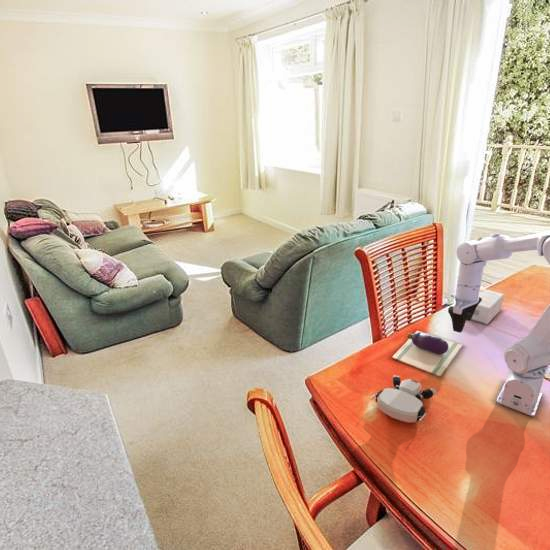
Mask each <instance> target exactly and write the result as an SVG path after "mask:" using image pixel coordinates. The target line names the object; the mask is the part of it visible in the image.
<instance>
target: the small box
mask: <svg viewBox="0 0 550 550" xmlns="http://www.w3.org/2000/svg"><path fill="white" fill-rule="evenodd" d="M479 297H480V298H482V301H481V302H480V303H479V304H478V306H477V307H476V309H475V311H474V314H473V316H472V318H471V320H472V321H476V322H479V323H481V324H484V325H488V324H489V323H490V322H491V321H492V320H493V319H494V318H495V317H496V316H497V315H498V314H499V313H500V311H501V310H502V305H503V301H504V297H505V294H504V293H500V292H497V291H494V290H489V289H485V288H481V287H480V291H479Z"/></svg>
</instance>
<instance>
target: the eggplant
mask: <svg viewBox="0 0 550 550" xmlns="http://www.w3.org/2000/svg"><path fill="white" fill-rule="evenodd" d="M415 332H416V331H415ZM415 332H414V333H415ZM423 332H424V331H421V332H416V333H415V334H414V333H410V332H408V334H407V339H408V340H409V339H412V342H413V344H414V345H415V346H417V347H420V348H423V349H426V350H428V351H431V352H434V353H437V354H444V353H446V352H447V351H448V343H447V342H446V341H445V340H446V339H445V338H442V337H439V336H436V335H433V336H432V334H430V333H427V332H424V333H423ZM426 333H427V334H426ZM413 334H414V335H413ZM429 334H430V335H429ZM435 336H436V337H435ZM438 337H439V338H438ZM441 338H442V339H441ZM444 339H445V340H444Z"/></svg>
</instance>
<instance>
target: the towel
mask: <svg viewBox="0 0 550 550" xmlns="http://www.w3.org/2000/svg"><path fill="white" fill-rule="evenodd" d="M416 332H423V333H426V334H429V335H432V334H430V333H427V332H424V331H421V330H416V331H415V332H414V333H412V334H413V335H414V334H415V333H416ZM432 336H435V337H438V338H441V339H444V340H445V341H446V342H447V343H448V351H447V352H446V353H444V354H437V353H434V352H431V351H428V350H426V349H423V348H420V347H417V346H415V345H414V344H413V342H412V339H409V338H408V339H407V340H406V342H405V343H404V344H402V346H401V347H400V348H399V349H398V350H397V351H396V352H395V353H394V354H393V356H392V357H391V358H392V359H393V360H396V361H398V362H400V363H403V364H406V365H409V366H411V367H414V368H416V369H418V370H422V371H424V372H427V373H429V374H431V375H434V376H437V377H440V378H441V376H442V375H443V373H445V371H446V369H447V368H448V367H449V365H450V363H451V362H452V361H453V360H454V359H455V357H456V355H457V354H458V353H459V351H460V350H461V349H462V347H463V344H460V343H457V342H454V341H450V340H448V339H445V338H442V337H439V336H436V335H432Z"/></svg>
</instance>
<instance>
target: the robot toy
mask: <svg viewBox="0 0 550 550" xmlns="http://www.w3.org/2000/svg"><path fill="white" fill-rule="evenodd" d="M392 384H393V387H394V388H393V387H386V388H384V389H381V390H379V391H378V392H377V393H375V394H373V396H371V397H369V400H370V401H371V400H373V399H374V398H375V403H376V407H377V408H378V409H379V410H380V411H381V412H382V413H383V414H385V415H387V416H389V417H390V418H392V419H395V420H398V421H400V422H404V423H409V424H410V423H416V422H417V421H418V422H422V420H423V419H424V418H426V416H427V413H426V407H425V406H424V403H423V402H422V399H424V400H428V399H431V398H433V396H435V395H436V394H437V390H435V389H434V388H426V389H424V390H422V386H421V382H419V381H417V380H414V379H412V378H408V379H404V380H402V381H401V378H400V376H399V375H395V374H394V375H392Z"/></svg>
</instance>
